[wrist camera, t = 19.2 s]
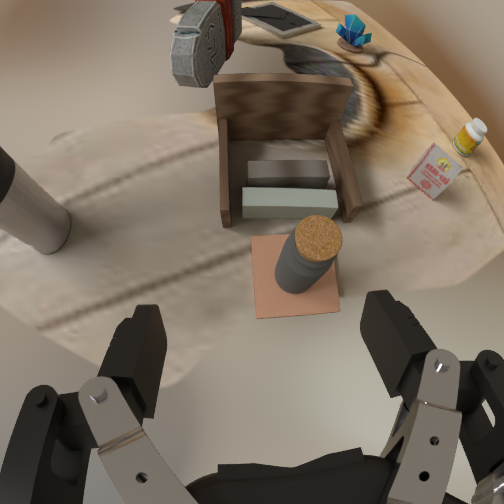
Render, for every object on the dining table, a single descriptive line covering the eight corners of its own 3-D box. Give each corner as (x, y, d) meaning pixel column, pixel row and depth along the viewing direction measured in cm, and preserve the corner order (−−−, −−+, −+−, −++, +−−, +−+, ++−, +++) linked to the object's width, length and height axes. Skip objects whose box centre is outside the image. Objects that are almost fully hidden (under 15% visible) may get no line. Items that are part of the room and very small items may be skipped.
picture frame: (234, 17, 68) (282, 41, 63) (234, 10, 65) (283, 32, 60) (271, 6, 71) (319, 29, 67) (272, 0, 68) (321, 22, 64)
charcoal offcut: (248, 197, 47) (248, 177, 41) (247, 181, 48) (247, 161, 42) (321, 196, 47) (329, 176, 42) (318, 180, 48) (326, 160, 43)
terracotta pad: (256, 318, 41) (256, 318, 40) (250, 238, 45) (250, 236, 44) (338, 311, 41) (340, 311, 40) (328, 234, 45) (329, 232, 44)
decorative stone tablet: (217, -26, 43) (155, 37, 37) (244, -25, 43) (190, 37, 36) (222, 31, 62) (177, 106, 55) (245, 33, 62) (205, 109, 55)
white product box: (412, 167, 50) (436, 137, 41) (437, 188, 49) (464, 162, 39) (406, 178, 49) (431, 148, 40) (432, 200, 48) (460, 174, 39)
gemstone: (356, 57, 61) (367, 22, 50) (330, 42, 63) (339, 8, 52) (369, 51, 63) (380, 19, 52) (345, 37, 65) (353, 5, 53)
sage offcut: (242, 218, 46) (242, 205, 42) (242, 201, 47) (242, 187, 42) (330, 220, 46) (338, 207, 42) (328, 203, 47) (335, 190, 43)
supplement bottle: (457, 136, 54) (476, 112, 45) (471, 152, 53) (492, 130, 44) (448, 143, 53) (469, 118, 44) (463, 160, 52) (485, 137, 43)
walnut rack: (220, 227, 45) (211, 178, 32) (219, 133, 51) (213, 75, 38) (352, 222, 46) (387, 177, 33) (330, 132, 52) (349, 78, 38)
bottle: (322, 272, 42) (358, 235, 28) (297, 302, 41) (324, 279, 26) (291, 246, 43) (313, 198, 29) (265, 275, 42) (276, 238, 28)
